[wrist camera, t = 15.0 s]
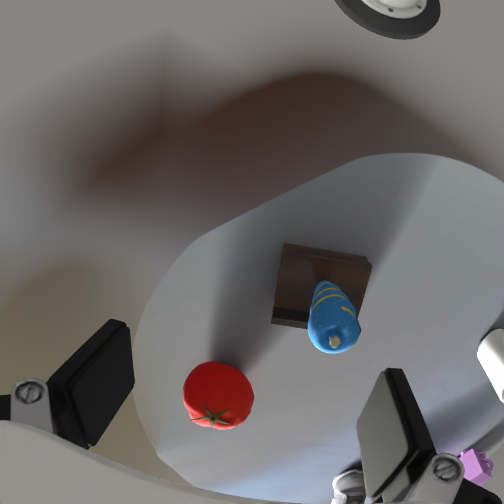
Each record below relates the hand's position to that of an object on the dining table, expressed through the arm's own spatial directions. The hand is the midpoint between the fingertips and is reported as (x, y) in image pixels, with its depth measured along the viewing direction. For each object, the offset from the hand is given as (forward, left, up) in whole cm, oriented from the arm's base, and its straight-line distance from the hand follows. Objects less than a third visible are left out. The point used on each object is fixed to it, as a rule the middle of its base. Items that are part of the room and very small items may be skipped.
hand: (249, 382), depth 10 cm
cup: (+16, +45, -34) cm, 58 cm away
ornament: (+7, +7, -30) cm, 31 cm away
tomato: (+29, -5, -34) cm, 45 cm away
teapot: (+57, +62, -34) cm, 90 cm away
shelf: (+8, +7, -33) cm, 35 cm away
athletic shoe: (+64, +30, -34) cm, 78 cm away
